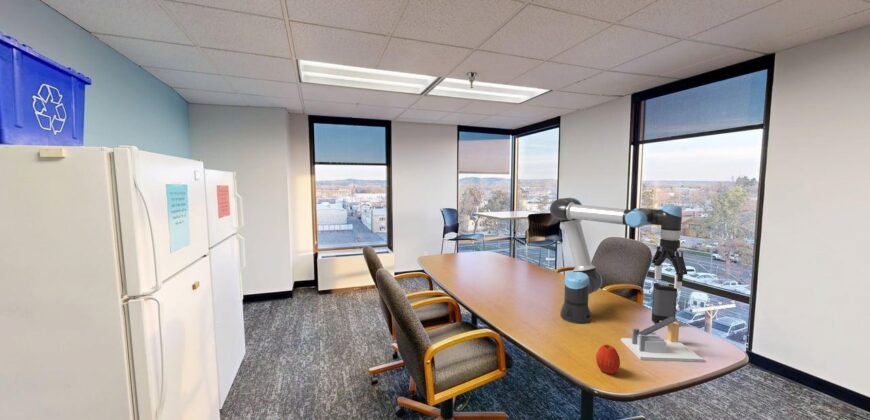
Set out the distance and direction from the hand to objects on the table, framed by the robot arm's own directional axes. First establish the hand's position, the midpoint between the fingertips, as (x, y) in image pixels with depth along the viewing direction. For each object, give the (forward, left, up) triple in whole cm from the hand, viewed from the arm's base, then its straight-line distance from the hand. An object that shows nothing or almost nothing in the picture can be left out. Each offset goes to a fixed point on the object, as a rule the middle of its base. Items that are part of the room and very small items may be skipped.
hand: (667, 283), depth 152 cm
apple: (-41, -33, -25) cm, 58 cm away
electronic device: (+6, +12, -25) cm, 28 cm away
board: (-12, -16, -24) cm, 32 cm away
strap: (-13, -16, -14) cm, 26 cm away
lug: (-4, -9, -23) cm, 25 cm away
